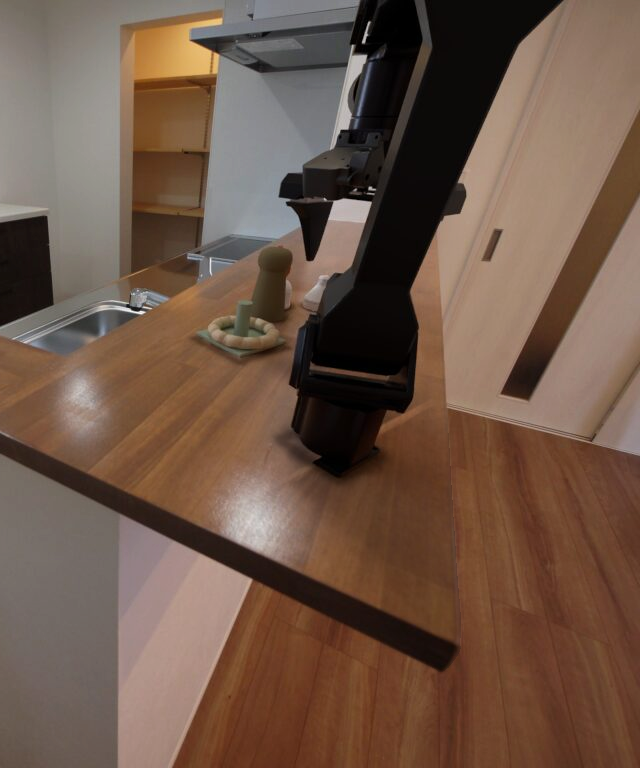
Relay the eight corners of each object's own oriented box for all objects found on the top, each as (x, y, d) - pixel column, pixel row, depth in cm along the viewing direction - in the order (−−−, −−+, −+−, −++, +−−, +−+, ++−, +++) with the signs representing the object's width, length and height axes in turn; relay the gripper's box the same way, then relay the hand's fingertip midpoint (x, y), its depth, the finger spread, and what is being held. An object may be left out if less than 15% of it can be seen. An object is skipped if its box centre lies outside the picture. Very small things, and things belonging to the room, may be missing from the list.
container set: (371, 305, 76) (381, 274, 74) (382, 315, 72) (393, 283, 69) (257, 299, 79) (262, 269, 76) (261, 308, 74) (266, 277, 71)
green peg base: (285, 347, 60) (293, 306, 57) (239, 362, 56) (245, 318, 53) (239, 326, 67) (245, 288, 64) (195, 339, 63) (198, 298, 60)
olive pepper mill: (286, 323, 69) (300, 253, 63) (247, 320, 70) (258, 251, 64) (282, 310, 74) (295, 244, 68) (246, 307, 75) (256, 242, 69)
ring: (291, 341, 60) (294, 330, 59) (242, 357, 55) (243, 346, 54) (241, 319, 67) (243, 309, 66) (194, 332, 62) (195, 321, 61)
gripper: (257, 118, 47) (238, 261, 55) (436, 112, 34) (376, 302, 41) (321, 121, 52) (295, 251, 60) (499, 116, 39) (435, 285, 46)
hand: (341, 269), depth 52 cm, fingers open, 9 cm apart
